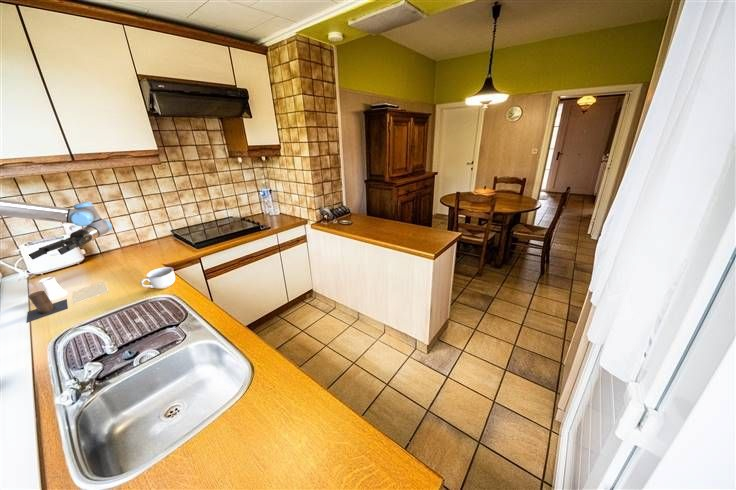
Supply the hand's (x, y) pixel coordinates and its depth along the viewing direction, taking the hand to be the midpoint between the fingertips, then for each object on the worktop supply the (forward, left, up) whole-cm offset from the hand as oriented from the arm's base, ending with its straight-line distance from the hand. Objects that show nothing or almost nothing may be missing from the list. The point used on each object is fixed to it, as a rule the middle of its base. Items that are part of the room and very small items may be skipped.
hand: (45, 254), depth 125 cm
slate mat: (+20, -6, -20) cm, 29 cm away
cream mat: (+15, +8, -20) cm, 26 cm away
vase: (+6, -3, -20) cm, 21 cm away
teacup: (+38, +32, -20) cm, 54 cm away
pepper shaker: (+21, -6, -19) cm, 29 cm away
